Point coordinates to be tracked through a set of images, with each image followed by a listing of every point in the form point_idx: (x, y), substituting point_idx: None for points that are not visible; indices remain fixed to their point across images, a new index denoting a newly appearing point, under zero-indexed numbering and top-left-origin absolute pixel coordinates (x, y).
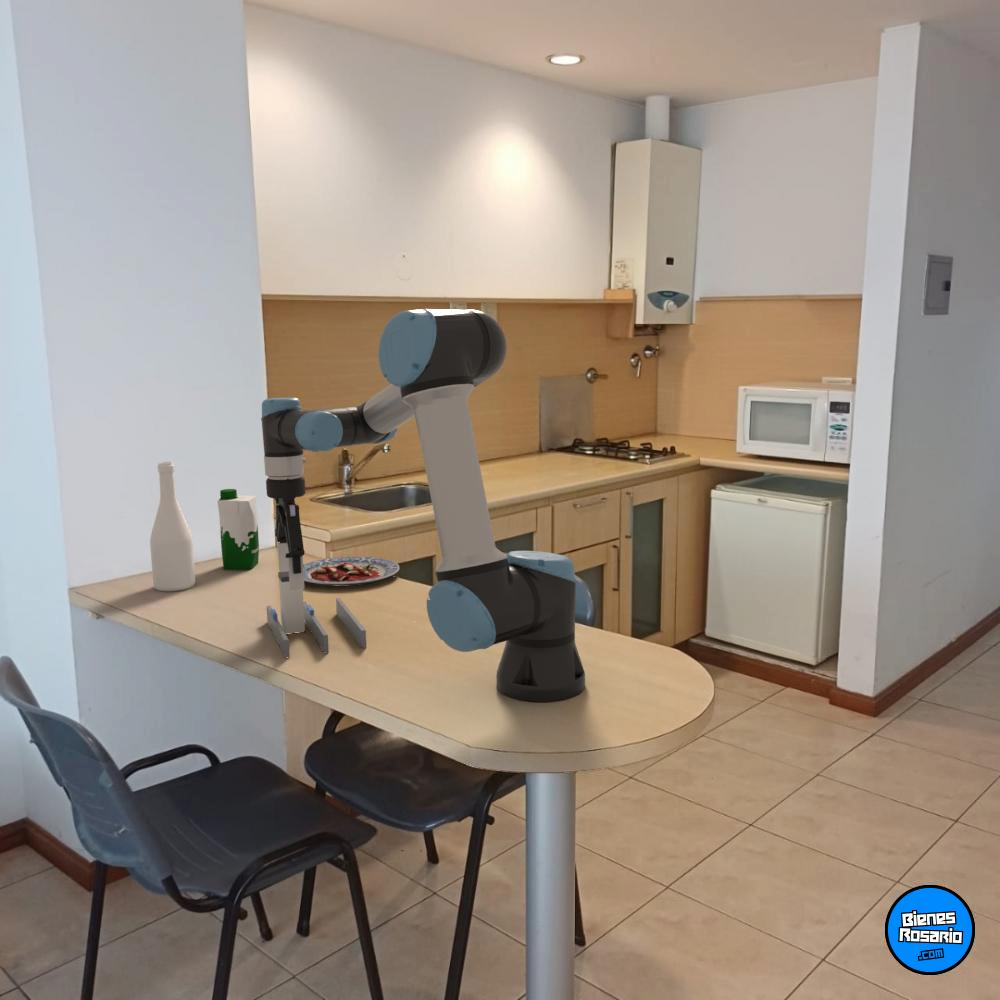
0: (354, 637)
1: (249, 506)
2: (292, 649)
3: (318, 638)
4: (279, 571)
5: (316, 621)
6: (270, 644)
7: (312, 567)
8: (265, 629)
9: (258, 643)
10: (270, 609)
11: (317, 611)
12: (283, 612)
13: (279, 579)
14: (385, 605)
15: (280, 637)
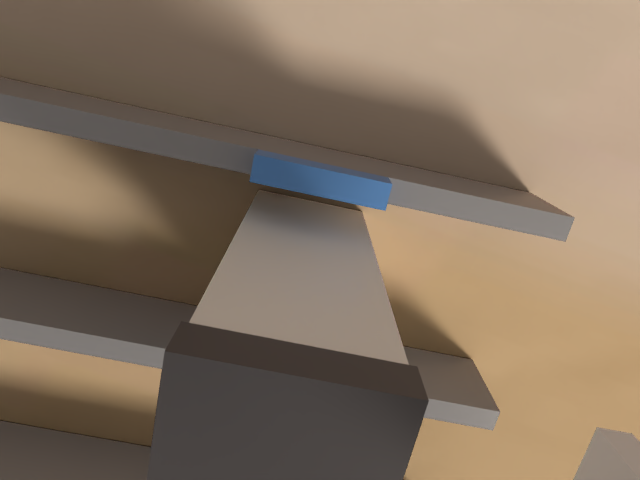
0: (46, 429)
1: None
2: (6, 136)
3: (11, 284)
4: (632, 451)
5: (79, 342)
6: (144, 66)
7: None
8: (416, 138)
9: (196, 12)
10: (383, 181)
11: (524, 448)
12: (245, 225)
13: (376, 354)
14: None
15: None
